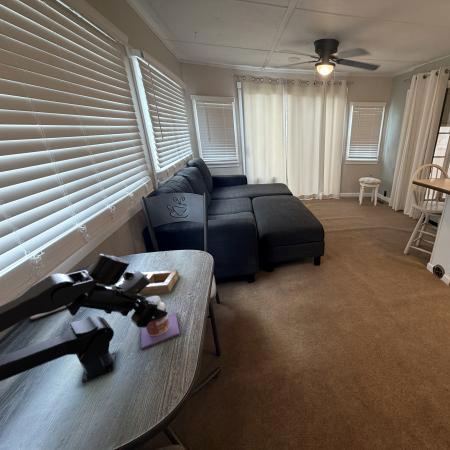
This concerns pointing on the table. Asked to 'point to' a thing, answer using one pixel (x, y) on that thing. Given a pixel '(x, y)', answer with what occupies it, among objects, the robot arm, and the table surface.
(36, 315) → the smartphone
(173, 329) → the mat
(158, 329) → the pill bottle
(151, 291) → the bottle rack
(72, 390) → the table surface
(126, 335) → the table surface
